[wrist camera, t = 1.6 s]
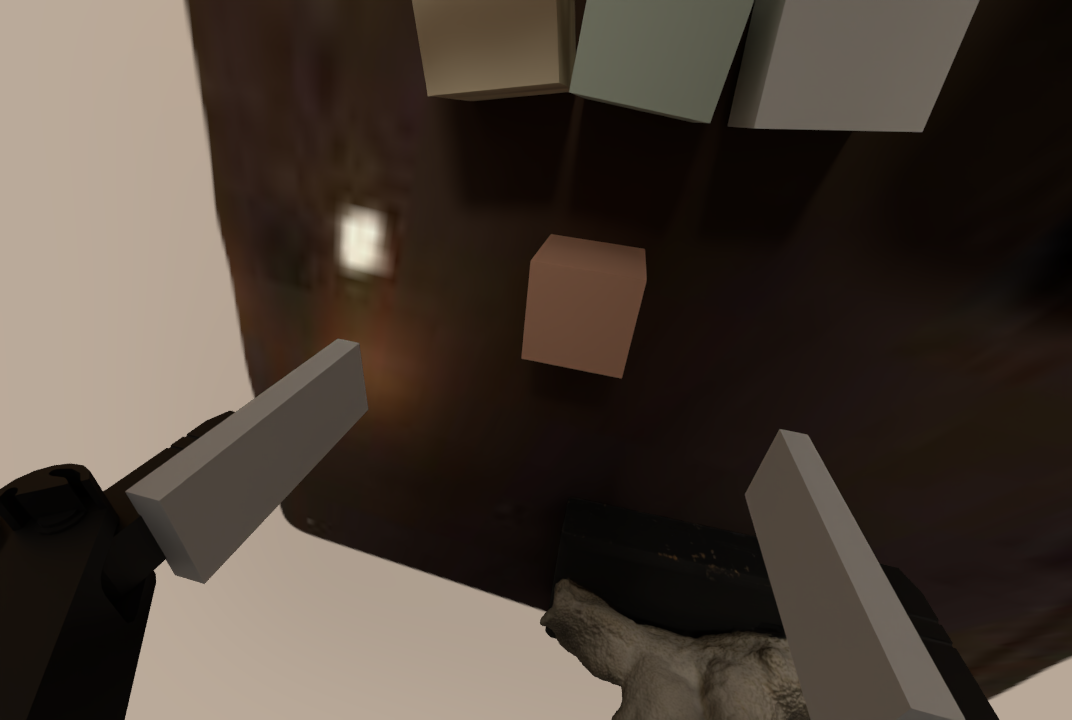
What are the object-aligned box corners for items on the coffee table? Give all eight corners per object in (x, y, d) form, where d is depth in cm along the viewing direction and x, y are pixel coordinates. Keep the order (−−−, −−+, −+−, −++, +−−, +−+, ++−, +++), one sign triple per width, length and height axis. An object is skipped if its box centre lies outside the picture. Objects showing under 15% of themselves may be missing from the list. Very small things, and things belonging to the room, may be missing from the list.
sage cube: (615, -51, 16) (608, -112, 12) (744, -27, 16) (783, -81, 11) (584, 98, 19) (568, 92, 14) (693, 122, 18) (710, 123, 14)
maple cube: (455, -39, 17) (396, -91, 13) (574, -60, 16) (552, -124, 12) (472, 101, 20) (428, 96, 15) (576, 91, 19) (559, 82, 14)
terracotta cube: (551, 233, 22) (530, 260, 18) (644, 248, 21) (646, 280, 17) (541, 317, 25) (521, 358, 20) (624, 333, 24) (621, 378, 20)
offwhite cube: (760, -25, 16) (805, -80, 11) (909, -32, 15) (1019, -92, 10) (726, 126, 18) (753, 128, 14) (852, 129, 17) (922, 132, 13)
